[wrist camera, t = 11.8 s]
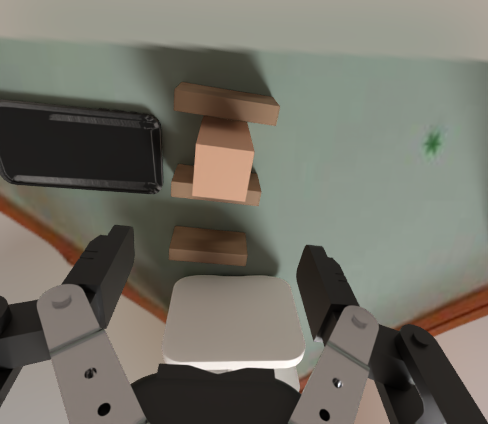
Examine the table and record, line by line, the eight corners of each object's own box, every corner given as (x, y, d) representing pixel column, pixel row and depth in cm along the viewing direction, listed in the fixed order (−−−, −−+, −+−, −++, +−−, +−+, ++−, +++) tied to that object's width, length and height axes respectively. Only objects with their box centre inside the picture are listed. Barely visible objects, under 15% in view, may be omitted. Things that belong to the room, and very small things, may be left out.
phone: (162, 194, 29) (3, 183, 27) (164, 189, 30) (10, 178, 28) (159, 115, 25) (-29, 97, 23) (161, 113, 26) (-19, 94, 24)
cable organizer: (293, 272, 37) (319, 358, 27) (282, 324, 42) (300, 412, 33) (176, 270, 36) (157, 361, 26) (180, 325, 41) (166, 416, 31)
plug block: (246, 121, 26) (254, 151, 20) (240, 162, 28) (245, 201, 22) (203, 115, 26) (195, 143, 19) (200, 156, 28) (192, 195, 21)
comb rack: (272, 96, 25) (280, 106, 22) (243, 242, 34) (245, 266, 30) (181, 81, 24) (174, 89, 21) (174, 236, 33) (168, 259, 29)
